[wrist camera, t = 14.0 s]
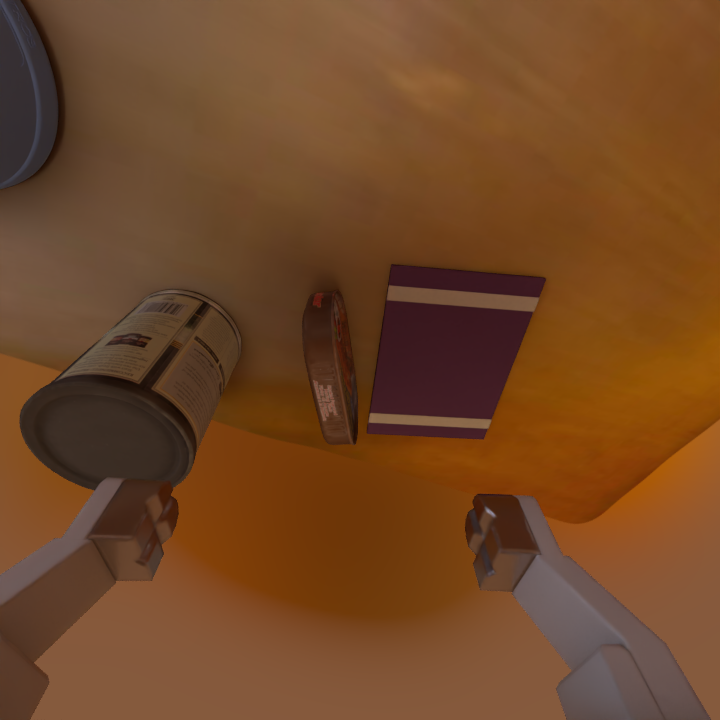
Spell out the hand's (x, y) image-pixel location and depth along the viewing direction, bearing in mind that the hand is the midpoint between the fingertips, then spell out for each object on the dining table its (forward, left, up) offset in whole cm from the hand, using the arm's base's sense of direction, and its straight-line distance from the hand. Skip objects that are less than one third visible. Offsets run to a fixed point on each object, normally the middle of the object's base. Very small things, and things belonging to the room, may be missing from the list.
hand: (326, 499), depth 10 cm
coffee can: (+14, +10, -25) cm, 31 cm away
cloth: (-12, +11, -25) cm, 30 cm away
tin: (0, +10, -25) cm, 27 cm away
